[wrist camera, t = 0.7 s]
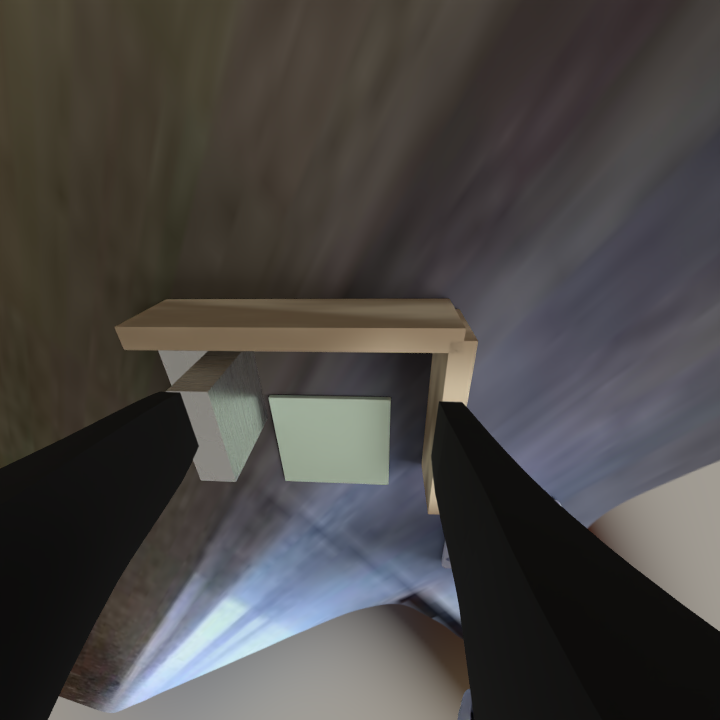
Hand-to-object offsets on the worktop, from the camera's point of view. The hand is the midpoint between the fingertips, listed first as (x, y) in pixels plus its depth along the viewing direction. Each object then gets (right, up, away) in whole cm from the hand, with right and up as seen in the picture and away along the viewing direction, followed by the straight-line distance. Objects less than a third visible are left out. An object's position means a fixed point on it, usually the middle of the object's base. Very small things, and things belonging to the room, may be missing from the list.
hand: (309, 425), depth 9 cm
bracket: (-8, +1, +12) cm, 14 cm away
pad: (-1, -4, +14) cm, 14 cm away
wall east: (-2, +5, +9) cm, 10 cm away
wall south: (+6, -1, +11) cm, 13 cm away
